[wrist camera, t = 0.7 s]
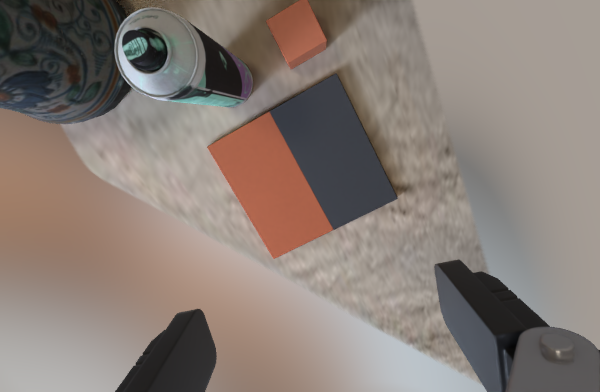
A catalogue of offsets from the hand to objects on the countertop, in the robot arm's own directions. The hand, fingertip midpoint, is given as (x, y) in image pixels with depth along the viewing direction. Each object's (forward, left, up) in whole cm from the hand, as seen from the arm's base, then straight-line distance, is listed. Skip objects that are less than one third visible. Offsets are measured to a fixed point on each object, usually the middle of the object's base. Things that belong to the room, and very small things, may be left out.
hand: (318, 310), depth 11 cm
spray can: (-14, -4, -29) cm, 33 cm away
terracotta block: (-14, +5, -29) cm, 33 cm away
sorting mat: (-1, -2, -29) cm, 29 cm away
